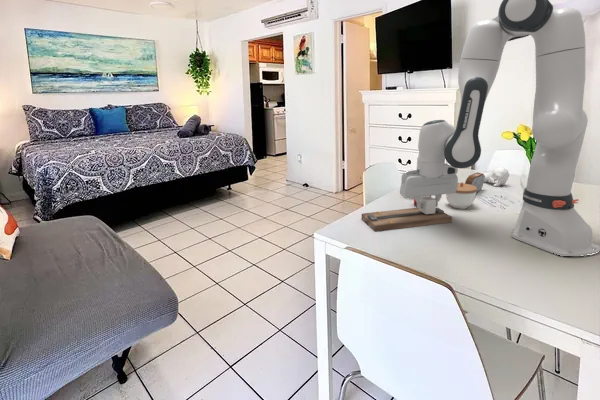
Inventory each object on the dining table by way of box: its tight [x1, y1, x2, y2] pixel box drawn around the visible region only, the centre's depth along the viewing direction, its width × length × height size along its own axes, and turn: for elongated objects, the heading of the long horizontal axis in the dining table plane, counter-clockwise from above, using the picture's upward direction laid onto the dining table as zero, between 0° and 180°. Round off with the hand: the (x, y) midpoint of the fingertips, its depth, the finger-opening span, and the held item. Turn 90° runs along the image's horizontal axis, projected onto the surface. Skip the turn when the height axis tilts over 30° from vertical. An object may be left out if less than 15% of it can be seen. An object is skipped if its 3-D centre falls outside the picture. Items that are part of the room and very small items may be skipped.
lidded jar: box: [445, 181, 477, 210], centre depth 138 cm, size 11×11×9 cm
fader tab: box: [418, 196, 437, 214], centre depth 127 cm, size 5×4×5 cm
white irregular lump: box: [483, 166, 510, 188], centre depth 165 cm, size 6×8×12 cm
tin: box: [464, 172, 485, 194], centre depth 154 cm, size 15×3×8 cm, turn 133°
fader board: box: [361, 206, 453, 232], centre depth 126 cm, size 12×28×3 cm, turn 103°
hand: (427, 207), depth 127 cm, fingers open, 4 cm apart
